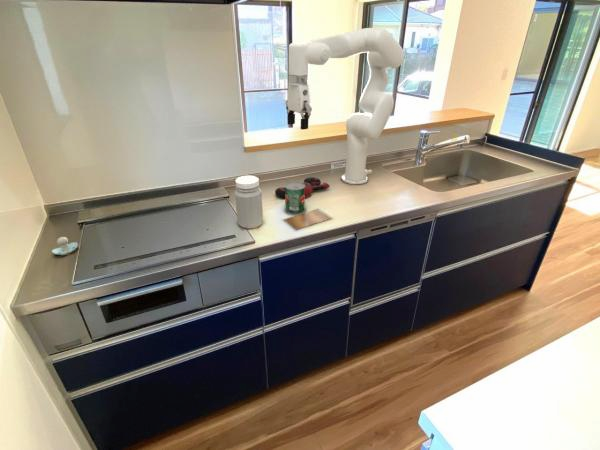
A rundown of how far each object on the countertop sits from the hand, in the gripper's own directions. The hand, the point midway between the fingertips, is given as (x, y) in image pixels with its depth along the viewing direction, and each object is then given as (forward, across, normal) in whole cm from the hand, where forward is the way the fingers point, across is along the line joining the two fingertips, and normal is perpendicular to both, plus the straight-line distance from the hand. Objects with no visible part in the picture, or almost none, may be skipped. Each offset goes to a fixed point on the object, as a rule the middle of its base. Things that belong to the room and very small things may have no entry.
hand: (297, 126), depth 137 cm
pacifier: (+34, +5, +87) cm, 93 cm away
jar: (+32, -10, +27) cm, 43 cm away
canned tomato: (+31, -10, +7) cm, 34 cm away
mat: (+31, -19, +7) cm, 37 cm away
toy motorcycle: (+31, +2, -6) cm, 31 cm away
